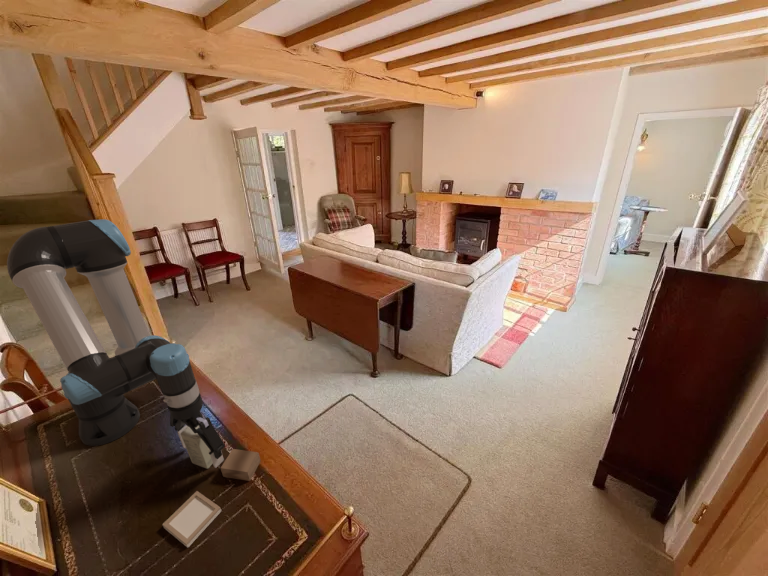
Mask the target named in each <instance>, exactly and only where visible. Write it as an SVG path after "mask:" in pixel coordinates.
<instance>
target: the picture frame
mask: <svg viewBox="0 0 768 576" xmlns="http://www.w3.org/2000/svg"><path fill="white" fill-rule="evenodd" d="M221 512H222V509H221V507H220V506H219V505H218V504H216V503H215V502H213V501H212V500H211V499H209V498H208V497H206V496H205V495H204V494H202V493H201V492H199V491H198V490H196V491H195V492H194V493H193V494H192V495H191V496H189V498H188V499H187V500H185V502H184V503H183V504H182V505H181V506H180V507H178V509H176V510H175V512H173V514H172V515H170V516H169V518H168V519H166V520H165V521H164V522H163V523H162V527H163V529H165V531H167V532H168V533H169V534H171V535H172V536H173V537H174V538H175V539H177V540H178V541H179V542H180V543H181V544H183V545H184V546H185V547H186V548H190V546H191V545H192V544H193V543H194V542H195V540H196V539H198V538H199V536H200V535H202V533H203V532H204V531H205V530H206V528H207V527H209V525H210V524H211V523H212V522H213V521H214V520H215V519H216V518H217V517H218V515H219V514H220V513H221Z"/></svg>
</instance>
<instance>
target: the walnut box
mask: <svg viewBox="0 0 768 576" xmlns="http://www.w3.org/2000/svg"><path fill="white" fill-rule="evenodd" d="M260 464H261V456H260V453H259V452H257V451H250V450H244V449H235V448H232V449H231V451H230V453H229V454H228V456H227V457H226V459H224V461H223V462H222V465H221V466H220V471H221V473H222V476H223V478H229V479H236V480H242V481H247V482H250V481H251V480H252V478H253V476H254V474H255V473H256V471H257V469H258V466H259V465H260Z"/></svg>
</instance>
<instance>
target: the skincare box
mask: <svg viewBox="0 0 768 576" xmlns="http://www.w3.org/2000/svg"><path fill="white" fill-rule="evenodd" d="M198 428H199V426H197V427H196V429H198ZM180 434H181V437H182V439H183V442H184V444H185V447H186V448H185V449H186V450H187V453H188V455H189V456H188V457H189V458H190V461H191V463H192V464H194V465H197V466H199V467H201V468H204V469H206V470H207V469H209V468H211V466H212V465H213V462H212V459H211V456H210V454H209V450H210V449H209V448H208V447H207V445H206V444H205V443H204V441H203V440H202V439H201V438H200V436H199V435H198V434H197V433H194V432H193V431H192V430H191V428H190V427H187V428H186V429H185V430H184V431H183V432H181V433H180Z"/></svg>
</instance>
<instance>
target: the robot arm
mask: <svg viewBox="0 0 768 576" xmlns="http://www.w3.org/2000/svg"><path fill="white" fill-rule="evenodd" d="M131 254H132V252H131V248H130V246H129V244H128V241H127V240H126V238H125V236H124V235H123V233H122V231H121V230H120V229H119V228H118V226H117V225H116V224H115V223H113V222H112V221H111V220H110V219H104V218H103V219H89V220H88V219H87V220H82V221H77V222H76V221H75V222H70V223H64V224H58V225H57V224H56V225H51V226H50V225H49V226H40V227H35V228H33V229H31V230H28V231H26V232H25V233H23V234H21V235H20V236H19V237H18V238H17V239H16V240H15V241H14V242H13V244H12V246H11V248H10V249H9V252H8V255H7V260H6V268H7V273H8V276H9V277H10V280H11V281H12V283H13V285H14V286H16V287H17V288H19V289H22V290H23V291H24V293H25V295H26V297H27V299H28V300H29V302H30V304H31V306H32V308H33V309H34V312H35V313H36V316H37V317H38V319H39V320H40V322H41V325H42V326H43V328H44V330H45V332H46V333H47V335H48V337H49V339H50V341H51V342H52V345H53V347H54V348H55V350H56V352H57V354H58V356H59V358H60V359H61V361H62V363H63V364H64V366H65V368H66V370H67V372H68V373H66V375H64V376H62V377H61V378H60V380H59V381H60V382H59V383H60V384H61V385H60V386H61V389H62V392H63V396H64V397H65V399H67V400H68V401H69V403H70V405H71V408H72V409H73V411H74V413H75V415H76V417H77V418H78V437H79V439H80V440H81V442H82V443H83V444H84V445H86V446H90V447H91V446H92V447H94V446H95V447H97V446H101V445H106V444H109V443H112V442H113V441H116V440H118V439H119V438H121V437H123V436H125V435H126V434H127V433H129V432H131V430H132V429H133V428H134V427H135V426H136V425H137V423H138V422H139V421H140V417H141V414H140V411H139V408H138V407H137V405H135V404H134V403H133V402H132V401H130V400H128V398H126V397H125V394H127V393H128V392H131V391H134V390H135V389H137V388H139V387H142V386H144V385H147V384H148V383H150V382H152V381H154V380H156V381H157V383H158V385H159V388H160V390H161V393H162V395H163V397H164V398H163V403H166V405H167V408H168V412H169V418H170V419H169V426H170V427H172V428H174V430H175V431H176V432H177V435H178V438H179V439H180V443H181V445H182V448H184V449H186V447H185V444H184V442H183V439H182V437H181V434H180V433H181V432H183V431H184V430H185V429H186V428H187V427H190V428H191V430H192V431H193V432H194V433H197V434H198V435H199V436H200V438H201V439H202V440H203V441H204V443H205V444H206V445H207V447H208V448H209V449H210V450H209V454H210V456H211V459H212V462H213V464H212V465H213V467H214V468H215V469H216V468H217V467H219V466H220V464H221V463H222V464H223V463H224V462H225V458H224V456H223V452H222V450H223V449H224V448H225V447H226V445H225V443H224V441H223V440H222V438H221V437H220V435H219V433H218V432H217V430H216V429H215V427H214V425H213V424H212V421H211V419H210V417H209V416H207V417H206V418H204V417H203V413H201V410H202V408H203V405H204V401H203V398H202V395H201V392H200V389H199V385H198V382H197V379H196V377H195V373H194V371H193V367H192V365H191V361H190V355H189V354H188V353H187V350H186V348H185V347H184V345H183V344H181V343H178V344H177V343H173V342H172V343H171V342H170V341H169V340H167V339H165V338H164V337H162V336H159V335H150V331H149V329H148V327H147V325H146V321H145V320H144V317H143V314H142V312H141V309H140V307H139V305H138V301H137V299H136V296H135V294H134V292H133V289H132V287H131V284H130V282H129V279H128V276H127V275H126V272H125V267H126V266H127V264H128V260H127V257H129V256H131ZM73 268H75V270H76V272H77V274H79V275H83V276H85V277H86V278H87V280H88V283H89V284H90V287H91V289H92V291H93V293H94V295H95V297H96V300H97V302H98V304H99V306H100V309H101V311H102V313H103V315H104V317H105V320H106V322H107V324H108V327H109V329H110V330H111V333H112V336H113V338H114V340H115V343H116V344H117V348H115V350H114V356H112V357H109V355H108V354H107V351H106V350H105V348H104V346H103V344H102V342H101V341H100V339H99V337H98V336H97V334H96V332H95V330H94V329H93V327H92V325H91V323H90V321H89V319H88V317H87V316H86V314H85V313H84V311H83V309H82V307H81V305H80V304H79V302H78V300H77V298H76V296H75V295H74V293H73V291H72V289H71V288H70V286H69V284H68V283H67V281H66V279H65V277H66V276H67V269H73ZM197 426H199V428H198V429H196V427H197Z"/></svg>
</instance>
